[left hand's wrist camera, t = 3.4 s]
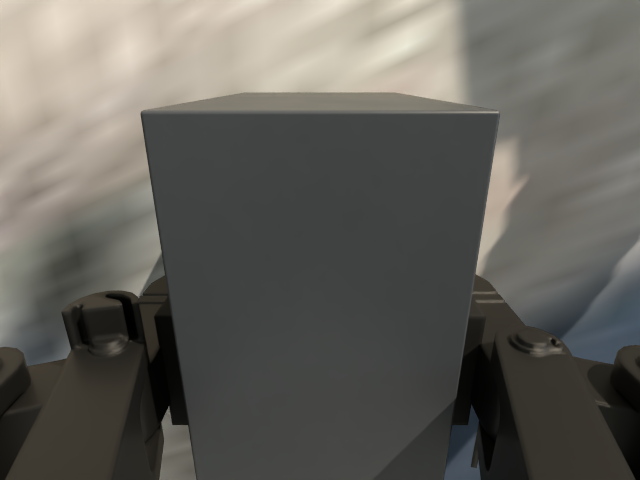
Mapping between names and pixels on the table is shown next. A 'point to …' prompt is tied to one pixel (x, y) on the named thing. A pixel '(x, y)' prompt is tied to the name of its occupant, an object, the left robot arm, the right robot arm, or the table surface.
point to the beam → (320, 276)
